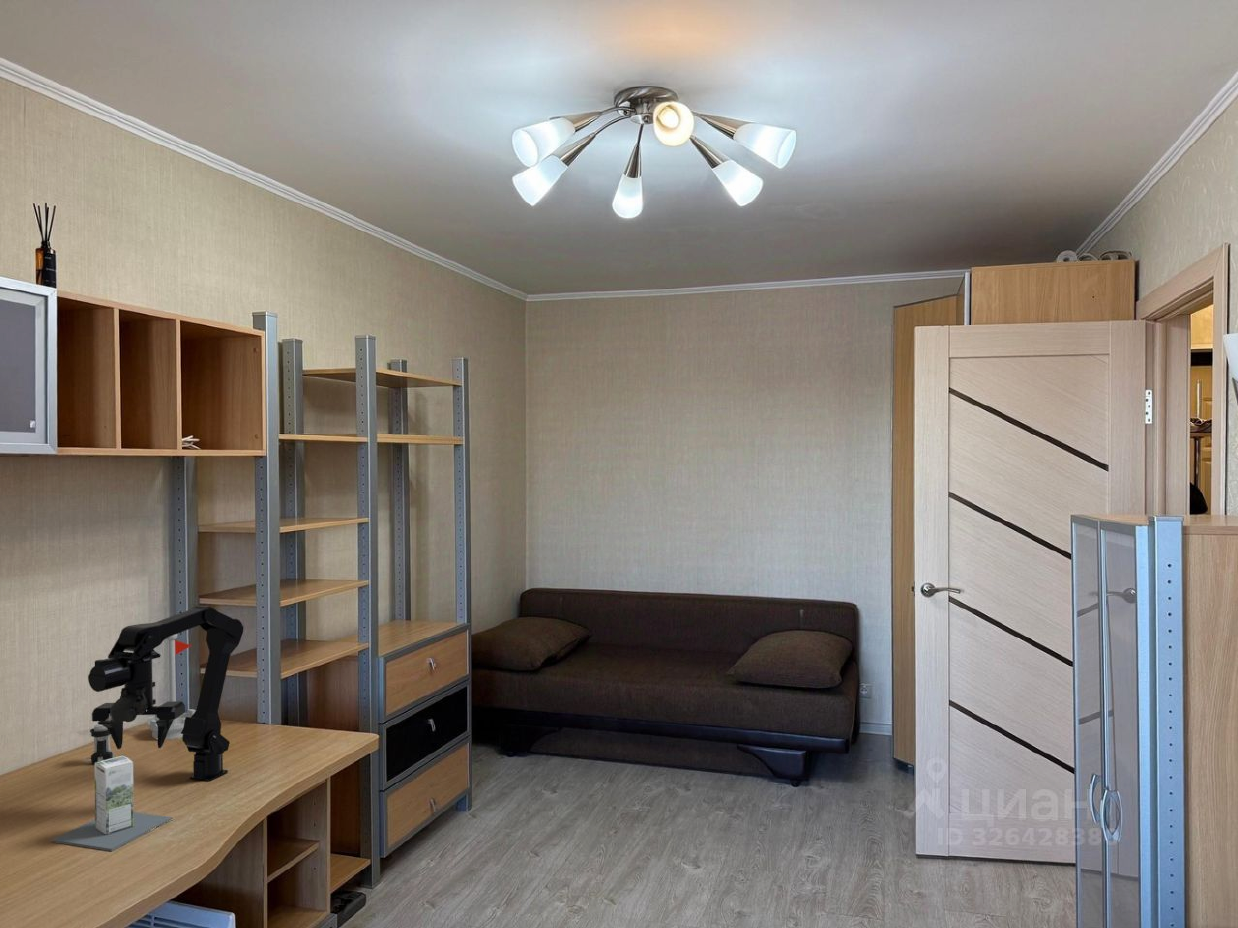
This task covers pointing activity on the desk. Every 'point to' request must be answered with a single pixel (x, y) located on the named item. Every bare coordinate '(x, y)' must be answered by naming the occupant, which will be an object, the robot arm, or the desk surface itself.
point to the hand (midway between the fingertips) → (139, 748)
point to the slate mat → (110, 842)
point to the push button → (100, 744)
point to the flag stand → (172, 693)
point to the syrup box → (114, 794)
